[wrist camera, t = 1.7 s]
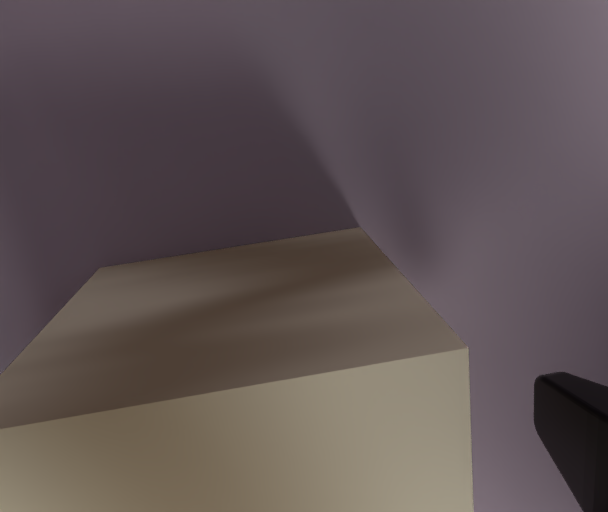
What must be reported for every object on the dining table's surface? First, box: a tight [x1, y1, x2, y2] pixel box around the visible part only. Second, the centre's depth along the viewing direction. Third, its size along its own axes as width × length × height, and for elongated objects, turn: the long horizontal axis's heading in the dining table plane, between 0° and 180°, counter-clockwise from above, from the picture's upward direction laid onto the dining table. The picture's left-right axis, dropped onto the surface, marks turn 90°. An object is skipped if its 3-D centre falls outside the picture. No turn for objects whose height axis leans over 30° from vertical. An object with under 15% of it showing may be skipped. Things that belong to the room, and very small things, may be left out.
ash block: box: [0, 227, 473, 512], centre depth 8 cm, size 5×5×5 cm
